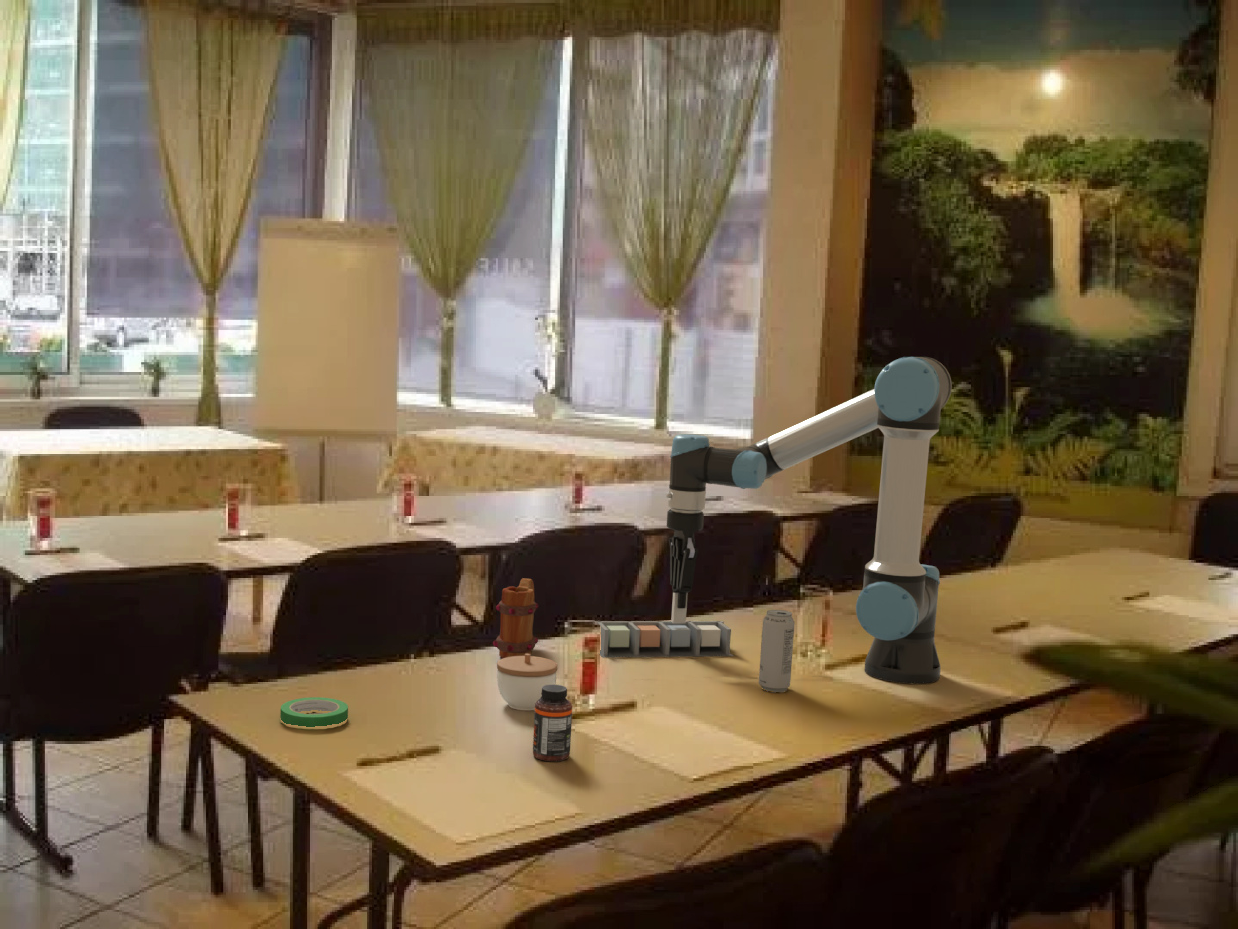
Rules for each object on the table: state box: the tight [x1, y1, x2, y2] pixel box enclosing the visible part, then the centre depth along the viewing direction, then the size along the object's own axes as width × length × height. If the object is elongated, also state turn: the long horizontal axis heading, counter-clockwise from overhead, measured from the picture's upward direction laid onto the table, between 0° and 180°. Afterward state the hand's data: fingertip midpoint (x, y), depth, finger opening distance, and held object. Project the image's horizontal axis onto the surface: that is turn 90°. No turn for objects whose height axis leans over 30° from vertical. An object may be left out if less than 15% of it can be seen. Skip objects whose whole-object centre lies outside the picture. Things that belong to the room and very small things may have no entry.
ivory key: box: [697, 625, 721, 646], centre depth 297 cm, size 4×4×4 cm
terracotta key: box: [637, 625, 660, 647], centre depth 294 cm, size 4×4×4 cm
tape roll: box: [279, 696, 349, 727], centre depth 239 cm, size 11×11×3 cm
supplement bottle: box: [532, 684, 573, 762], centre depth 226 cm, size 6×6×11 cm
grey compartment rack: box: [593, 620, 735, 658], centre depth 295 cm, size 10×28×6 cm, turn 104°
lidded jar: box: [496, 653, 558, 711], centre depth 253 cm, size 11×11×9 cm
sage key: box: [606, 626, 630, 647], centre depth 292 cm, size 4×4×4 cm
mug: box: [492, 577, 539, 659], centre depth 288 cm, size 15×8×15 cm, turn 168°
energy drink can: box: [758, 609, 795, 693], centre depth 273 cm, size 6×6×15 cm
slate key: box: [667, 625, 691, 647], centre depth 296 cm, size 4×4×4 cm
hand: (678, 622), depth 295 cm, fingers closed
